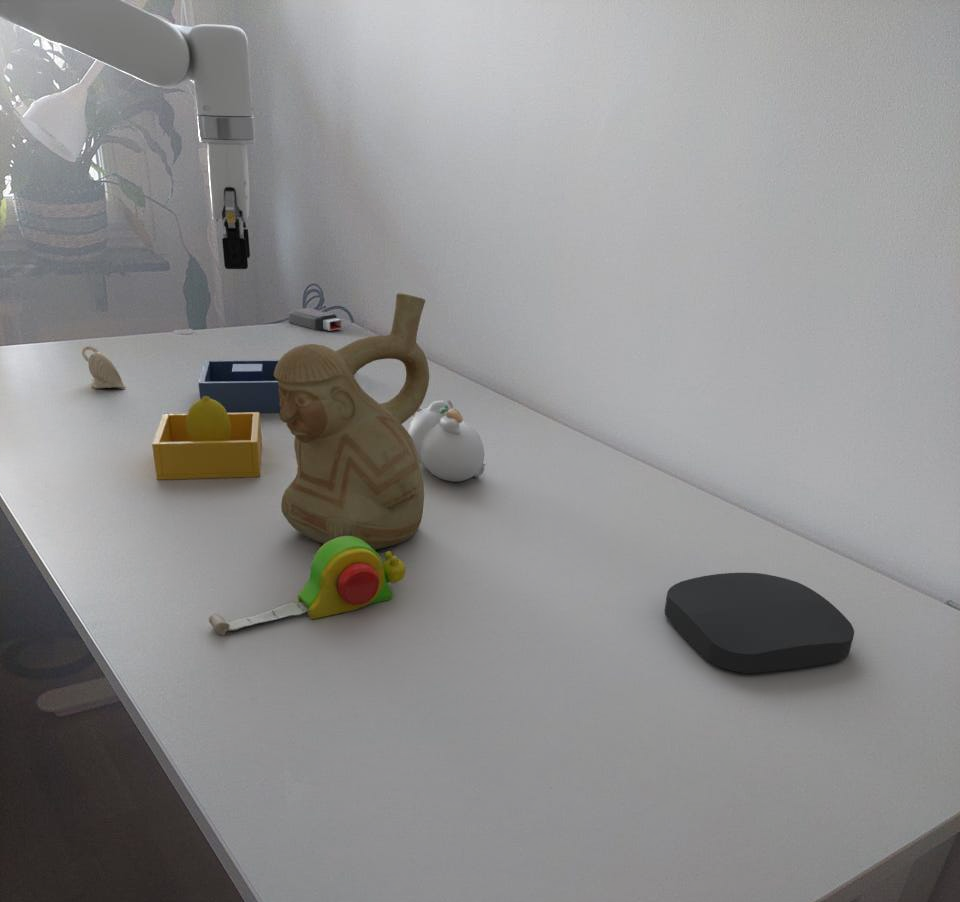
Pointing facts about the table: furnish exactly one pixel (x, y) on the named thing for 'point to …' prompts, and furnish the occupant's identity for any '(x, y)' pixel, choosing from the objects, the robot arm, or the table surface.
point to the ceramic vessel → (354, 437)
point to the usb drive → (315, 319)
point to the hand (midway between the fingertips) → (237, 263)
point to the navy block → (247, 372)
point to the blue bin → (240, 387)
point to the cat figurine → (446, 442)
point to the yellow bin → (208, 450)
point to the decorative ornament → (102, 370)
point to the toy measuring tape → (333, 584)
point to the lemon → (208, 421)
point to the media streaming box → (758, 622)
